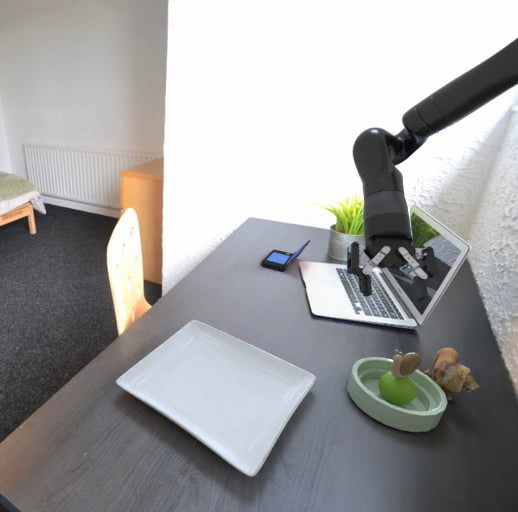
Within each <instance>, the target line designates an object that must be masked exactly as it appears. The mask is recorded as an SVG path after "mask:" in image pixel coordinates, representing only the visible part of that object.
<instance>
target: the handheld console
mask: <svg viewBox="0 0 518 512" xmlns="http://www.w3.org/2000/svg"><path fill="white" fill-rule="evenodd" d="M310 243H311V239H309V240H307V242H305V243H304V244H303V245H302V246H301V247H300V248H299V249H298V250H297V251H296V252H293V253H292V252H287V251H283V250H280V249H272V250H271V251H270V252H269V253H268V254H266V256H265V257H264V258H263V260H262V261H261V262H260V265H261V266H263V267H267V268H271V269H274V270H278V271H282V272H285V271H287V269H288V267H289V266H290V264H291V263H293V262H294V261H295V260H296V259H297V258H298V257H299V256H300V255H301V254H302V253H303V252H304V250H305V249H306V248H307V247H308V246H309V244H310Z"/></svg>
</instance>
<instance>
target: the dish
mask: <svg viewBox="0 0 518 512" xmlns="http://www.w3.org/2000/svg"><path fill="white" fill-rule="evenodd" d="M392 362H393V359H391V358H386V357H380V356H379V357H378V356H371V357H364V358H361V359H359V360H356V361H355V362H354V364H353V365H352V367H351V370H350V372H349V376H348V379H347V381H346V383H347V386H346V390H347V392H348V394H349V397H350V399H352V401H353V402H354V404H355V405H356V406H357V407H358V409H360V410H361V411H363V412H364V413H366V414H367V415H368V416H369V417H371V418H372V419H374V420H376V421H377V422H380V423H381V424H384V425H386V426H388V427H391V428H393V429H397V430H400V431H405V432H411V433H423V432H430V431H431V430H432V429H435V428H436V427H437V426H438V424H439V423H440V421H441V419H442V416H443V414H444V413H445V411H446V408H447V406H448V400H447V399H446V395H445V393H444V392H443V391H444V390H443V389H441V388H440V386H439V385H438V384H437V383H436V382H434V381H433V380H432V379H431V378H432V377H431V376H428V375H426V374H424V372H423V371H421V370H419V369H417V370H416V371H414V373H413V374H412V375H411V376H409V377H410V378H411V379H412V380H413V382H414V383H415V385H416V388H417V395H416V397H415V399H414V400H413V401H411V402H410V403H407V404H396V403H393V402H391V401H389V400H387V399H386V398H385V397H384V396H383V395H382V393H381V392H380V390H379V380H380V378H381V377H382V376H383V375H384V374H386V373H389V372H391V365H392Z"/></svg>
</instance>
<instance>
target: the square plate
mask: <svg viewBox="0 0 518 512" xmlns="http://www.w3.org/2000/svg"><path fill="white" fill-rule="evenodd" d="M316 381H317V376H316V375H314V374H313V373H311V372H310V371H307V370H305V369H303V368H301V367H299V366H297V365H294V364H292V363H290V362H288V361H286V360H284V359H282V358H279V356H276V355H274V354H271V353H269V352H267V351H265V350H263V349H261V348H258V347H256V346H255V345H253V344H250V343H248V342H246V341H244V340H242V339H240V338H238V337H236V336H233V335H231V334H228V333H226V332H224V331H223V330H220V329H217V328H216V327H213V326H211V325H210V324H209V325H208V324H207V323H204V322H202V321H199V320H197V319H192V320H190V321H189V322H188V323H186V324H185V325H184V326H183V327H181V328H180V329H178V331H176V332H175V333H174V334H173V335H171V336H170V337H169V338H167V339H166V340H165V341H164V342H162V343H161V344H160V345H158V346H157V347H156V348H154V349H153V350H152V351H151V352H149V354H147V355H146V356H144V357H143V358H142V359H140V360H139V361H138V362H136V363H135V364H134V365H133V366H132V367H130V368H129V369H128V370H127V371H126V372H124V373H123V374H122V375H121V376H119V377H118V378H117V379H116V380H115V384H116V385H117V386H118V387H119V388H121V389H122V390H124V392H127V393H129V394H130V395H132V396H133V397H135V398H136V399H137V400H139V401H140V402H142V403H144V404H145V405H147V406H148V407H150V408H152V409H153V410H155V411H156V412H158V413H159V414H160V415H162V416H163V417H165V418H166V419H168V420H170V421H171V423H174V424H175V425H177V426H178V427H180V429H182V430H184V431H185V432H186V433H188V434H189V435H191V436H192V437H194V438H195V439H196V440H198V441H199V442H200V443H202V444H203V445H204V446H205V447H207V448H208V449H209V450H211V451H212V452H213V453H214V454H216V455H217V456H218V457H220V458H221V459H222V460H223V461H225V462H226V463H228V464H229V465H231V467H233V468H235V469H236V470H237V471H239V472H240V473H242V474H243V475H245V476H247V477H250V478H253V477H255V476H256V475H257V474H258V473H259V472H260V471H261V469H262V467H263V465H264V464H265V462H266V461H267V459H268V457H269V455H270V454H271V451H272V450H273V448H274V447H275V445H276V443H277V441H278V440H279V438H280V436H281V434H282V433H283V431H284V429H285V427H286V426H287V424H288V423H289V421H290V419H291V418H292V417H293V415H294V414H295V412H296V410H297V409H298V407H299V406H300V405H301V403H302V402H303V400H304V399H305V398H306V396H307V395H308V393H309V392H311V390H312V388H313V387H314V385H315V384H316Z"/></svg>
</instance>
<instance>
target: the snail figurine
mask: <svg viewBox="0 0 518 512" xmlns="http://www.w3.org/2000/svg"><path fill="white" fill-rule="evenodd" d="M394 353H395V354H394V355H393V356H392V360H393V362H392V365H391V372H389V373H386V374H384V375H383V376H382V377H381V378H380V380H379V390H380V392H381V393H382V395H383V396H384V397H385V398H386V399H387V400H389V401H391V402H393V403H396V404H407V403H410V402H411V401H413V400H414V399H415V397H416V395H417V388H416V385H415V383H414V382H413V380H412V379H411V378H410V377H409V376H411V375H412V374H413V373H414V371H416V370H418V369H419V367H420V366H421V363H422V357H421V355H420V354H419V353H416V352H408V353H406V354H404V353H403V351H399V349H394ZM403 354H404V355H403Z"/></svg>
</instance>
